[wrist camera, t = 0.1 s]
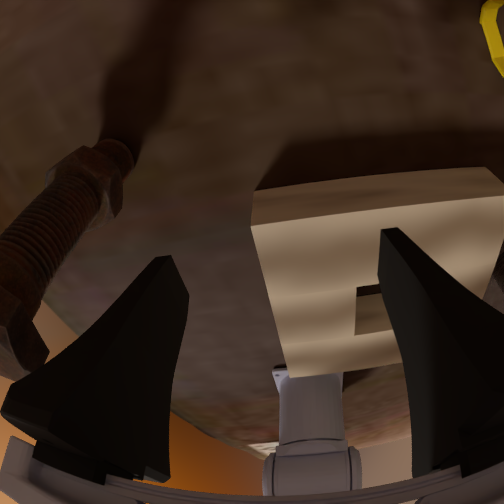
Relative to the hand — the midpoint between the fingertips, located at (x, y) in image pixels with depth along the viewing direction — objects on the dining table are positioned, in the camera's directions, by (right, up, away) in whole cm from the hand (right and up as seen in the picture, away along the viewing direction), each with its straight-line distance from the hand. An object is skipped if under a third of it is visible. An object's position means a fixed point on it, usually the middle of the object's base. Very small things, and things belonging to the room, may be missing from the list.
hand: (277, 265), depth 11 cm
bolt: (-10, +7, +8) cm, 15 cm away
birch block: (+9, -1, +13) cm, 16 cm away
